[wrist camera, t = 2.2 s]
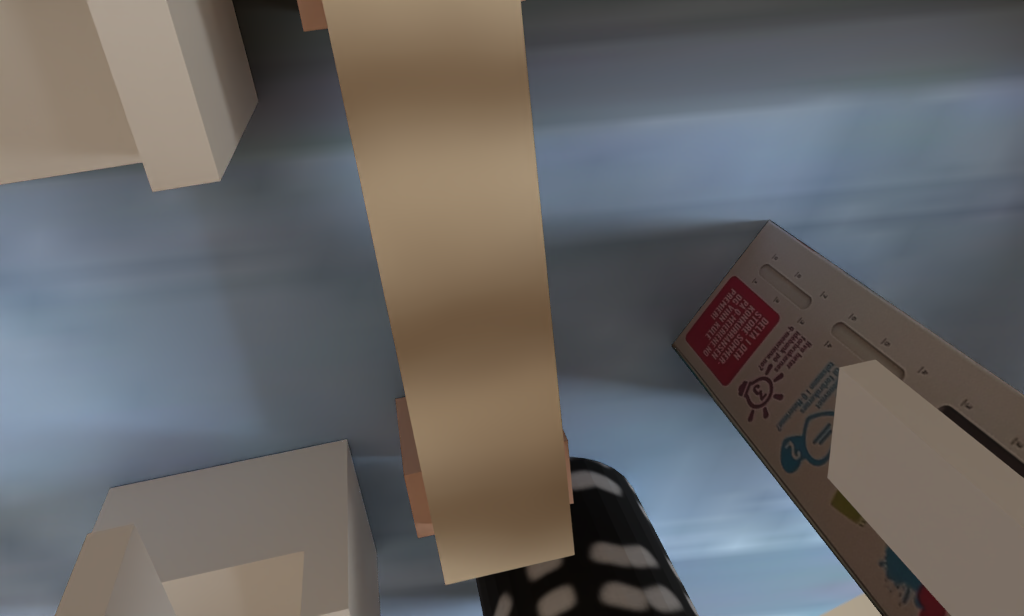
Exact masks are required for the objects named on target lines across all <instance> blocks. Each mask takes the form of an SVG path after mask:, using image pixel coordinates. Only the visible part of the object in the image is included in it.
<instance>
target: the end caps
mask: <svg viewBox="0 0 1024 616" xmlns="http://www.w3.org/2000/svg"><path fill="white" fill-rule="evenodd" d="M257 104H258V98H257V94H256V90H255V86H254V82H253V78H252V75H251V71H250V67H249V63H248V59H247V56H246V52H245V48H244V44H243V40H242V37H241V33H240V29H239V25H238V21H237V17H236V14H235V10H234V6H233V2H232V0H0V185H2V184H8V183H14V182H21V181H27V180H33V179H40V178H46V177H53V176H59V175H65V174H72V173H78V172H84V171H91V170H97V169H103V168H110V167H116V166H122V165H129V164H135V163H143V166H144V169H145V172H146V175H147V177H148V180H149V183H150V186H151V189H152V192H156V191H162V190H168V189H175V188H181V187H187V186H193V185H199V184H205V183H212V182H218V181H221V179H222V177H223V175H224V173H225V171H226V168H227V166H228V164H229V162H230V160H231V158H232V156H233V154H234V152H235V150H236V148H237V145H238V143H239V141H240V139H241V137H242V135H243V133H244V131H245V129H246V127H247V125H248V122H249V120H250V118H251V116H252V114H253V112H254V110H255V108H256V106H257ZM130 524H135V526H136V528H137V530H138V532H139V535H140V537H141V539H142V541H143V543H144V546H145V548H146V550H147V552H148V554H149V557H150V559H151V561H152V563H153V565H154V568H155V570H156V572H157V574H158V576H159V579H160V581H161V583H162V585H163V587H164V589H165V592H166V594H167V596H168V598H169V600H170V603H171V605H172V607H173V609H174V611H175V614H176V616H380V601H379V582H378V564H377V552H376V548H375V544H374V540H373V536H372V533H371V529H370V525H369V521H368V517H367V513H366V510H365V506H364V502H363V498H362V494H361V491H360V487H359V483H358V479H357V475H356V472H355V468H354V464H353V460H352V456H351V452H350V449H349V445H348V441H347V439H346V440H341V441H336V442H331V443H326V444H321V445H317V446H312V447H307V448H302V449H297V450H292V451H288V452H283V453H278V454H273V455H268V456H263V457H259V458H254V459H249V460H244V461H239V462H234V463H230V464H225V465H220V466H215V467H210V468H206V469H201V470H196V471H191V472H186V473H181V474H177V475H172V476H167V477H162V478H157V479H152V480H148V481H143V482H138V483H133V484H128V485H123V486H119V487H114V488H110V489H109V492H108V494H107V496H106V499H105V501H104V504H103V506H102V508H101V511H100V513H99V516H98V518H97V521H96V523H95V525H94V528H93V530H92V533H94V532H98V531H103V530H107V529H112V528H116V527H121V526H125V525H130Z"/></svg>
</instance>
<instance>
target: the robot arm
mask: <svg viewBox="0 0 1024 616" xmlns="http://www.w3.org/2000/svg"><path fill="white" fill-rule="evenodd" d="M827 478H828V479H829V480H830V481H831V482H832V483H833V485H834V486H835V487H836V488H837V489H838V490H839V491H840V492H841V493H842V495H843V496H844V497H845V498H846V499H847V500H848V501H849V502H850V504H851V505H852V506H853V507H854V508H855V509H856V510H857V511H858V512H859V514H860V515H861V516H862V517H863V518H864V519H865V520H866V521H867V522H868V524H869V525H870V526H871V527H872V528H873V529H874V530H875V531H876V533H877V534H878V535H879V536H880V537H881V538H882V539H883V540H884V541H885V543H886V544H887V545H888V546H889V547H890V548H891V549H892V550H893V552H894V553H895V554H896V555H897V556H898V557H899V558H900V559H901V560H902V562H903V563H904V564H905V565H906V566H907V567H908V568H909V569H910V570H911V572H912V573H913V574H914V575H915V576H916V577H917V578H918V579H919V581H920V582H921V583H922V584H923V585H924V586H925V587H926V588H927V589H928V591H929V592H930V593H931V594H932V595H933V596H934V597H935V598H936V600H937V601H938V602H939V603H940V604H941V605H942V606H943V607H944V608H945V610H946V611H947V612H948V613H949V614H950V615H951V616H1024V478H1023V477H1022V476H1020V475H1019V474H1018V473H1017V472H1015V471H1014V470H1013V469H1012V468H1010V467H1009V466H1008V465H1007V464H1005V463H1004V462H1003V461H1002V460H1000V459H999V458H998V457H997V456H995V455H994V454H993V453H992V452H990V451H989V450H988V449H987V448H985V447H984V446H983V445H982V444H980V443H979V442H978V441H977V440H975V439H974V438H973V437H972V436H970V435H969V434H968V433H967V432H965V431H964V430H963V429H962V428H960V427H959V426H958V425H957V424H955V423H954V422H953V421H952V420H950V419H949V418H948V417H947V416H945V415H944V414H943V413H942V412H940V411H939V410H938V409H937V408H935V407H934V406H933V405H932V404H930V403H929V402H928V401H927V400H925V399H924V398H923V397H922V396H920V395H919V394H918V393H917V392H915V391H914V390H913V389H912V388H910V387H909V386H908V385H907V384H905V383H904V382H903V381H902V380H900V379H899V378H898V377H897V376H895V375H894V374H893V373H892V372H890V371H889V370H888V369H887V368H885V367H884V366H883V365H882V364H880V363H879V362H878V361H877V360H871V361H866V362H862V363H857V364H853V365H848V366H844V367H839V376H838V385H837V395H836V404H835V413H834V422H833V431H832V440H831V449H830V459H829V468H828V477H827ZM55 616H176V614H175V611H174V609H173V607H172V605H171V603H170V600H169V598H168V596H167V594H166V592H165V589H164V587H163V585H162V583H161V581H160V579H159V576H158V574H157V572H156V570H155V568H154V565H153V563H152V561H151V559H150V557H149V554H148V552H147V550H146V548H145V546H144V543H143V541H142V539H141V537H140V535H139V532H138V530H137V528H136V526H135V524H130V525H125V526H121V527H116V528H112V529H107V530H103V531H98V532H94V533H89V534H87V536H86V539H85V541H84V544H83V546H82V549H81V551H80V554H79V556H78V559H77V561H76V564H75V566H74V569H73V571H72V574H71V576H70V579H69V581H68V584H67V586H66V589H65V591H64V594H63V596H62V599H61V601H60V604H59V606H58V609H57V611H56V614H55Z"/></svg>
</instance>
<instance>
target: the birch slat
mask: <svg viewBox="0 0 1024 616" xmlns="http://www.w3.org/2000/svg"><path fill="white" fill-rule="evenodd" d="M322 2H323V7H324V12H325V16H326V21H327V26H328V31H329V35H330V40H331V45H332V50H333V54H334V59H335V64H336V69H337V73H338V78H339V83H340V88H341V92H342V97H343V102H344V107H345V111H346V116H347V121H348V126H349V130H350V135H351V140H352V145H353V149H354V154H355V159H356V164H357V168H358V173H359V178H360V183H361V187H362V192H363V197H364V202H365V206H366V211H367V216H368V221H369V225H370V230H371V235H372V239H373V244H374V249H375V254H376V258H377V263H378V268H379V273H380V277H381V282H382V287H383V292H384V296H385V301H386V306H387V311H388V315H389V320H390V325H391V330H392V334H393V339H394V344H395V349H396V353H397V358H398V363H399V368H400V372H401V377H402V382H403V387H404V391H405V396H406V401H407V406H408V410H409V415H410V420H411V425H412V429H413V434H414V439H415V444H416V448H417V453H418V458H419V462H420V467H421V472H422V477H423V481H424V486H425V491H426V496H427V500H428V505H429V510H430V515H431V519H432V524H433V529H434V534H435V538H436V543H437V548H438V553H439V557H440V562H441V567H442V572H443V576H444V581H445V585H448V584H453V583H457V582H461V581H465V580H470V579H474V578H478V577H483V576H487V575H491V574H495V573H500V572H504V571H508V570H512V569H517V568H521V567H525V566H529V565H534V564H538V563H542V562H547V561H551V560H555V559H559V558H564V557H568V556H572V555H575V553H574V543H573V532H572V522H571V512H570V502H569V491H568V481H567V471H566V461H565V451H564V440H563V430H562V420H561V410H560V399H559V389H558V379H557V369H556V358H555V348H554V338H553V328H552V318H551V307H550V297H549V287H548V277H547V266H546V256H545V246H544V236H543V225H542V215H541V205H540V195H539V185H538V174H537V164H536V154H535V144H534V133H533V123H532V113H531V103H530V93H529V82H528V72H527V62H526V52H525V41H524V31H523V21H522V11H521V0H322Z"/></svg>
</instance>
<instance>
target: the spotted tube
mask: <svg viewBox="0 0 1024 616" xmlns="http://www.w3.org/2000/svg"><path fill="white" fill-rule="evenodd" d="M569 459H570V470H571V481H572V491H573V502H574V503H572V504H570V512H571V522H572V532H573V543H574V553H575V555H572V556H568V557H564V558H559V559H555V560H551V561H547V562H542V563H538V564H534V565H529V566H525V567H521V568H517V569H512V570H508V571H504V572H500V573H495V574H491V575H487V576H483V577H478V578H476V582H477V587H478V592H479V596H480V601H481V606H482V611H483V616H699V615H698V613H697V611H696V609H695V607H694V606H693V604H692V602H691V600H690V598H689V596H688V594H687V592H686V590H685V588H684V586H683V584H682V582H681V580H680V578H679V576H678V575H677V573H676V571H675V569H674V567H673V565H672V563H671V561H670V559H669V557H668V555H667V553H666V551H665V549H664V547H663V545H662V544H661V542H660V540H659V538H658V536H657V534H656V532H655V530H654V528H653V526H652V524H651V522H650V520H649V518H648V516H647V514H646V513H645V511H644V509H643V507H642V505H641V503H640V501H639V499H638V497H637V495H636V493H635V491H634V489H633V487H632V486H631V485H630V483H629V482H628V481H627V480H626V478H625V477H624V476H623V475H621V474H620V473H619V472H617V471H616V470H615V469H613V468H611V467H609V466H607V465H604V464H602V463H600V462H596V461H592V460H587V459H579V458H569Z"/></svg>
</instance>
